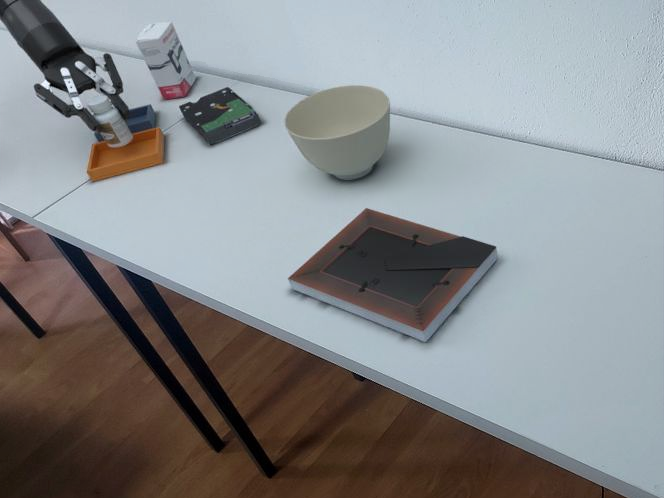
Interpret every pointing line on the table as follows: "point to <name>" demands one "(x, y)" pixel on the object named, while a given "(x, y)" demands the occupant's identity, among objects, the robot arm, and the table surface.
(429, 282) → the picture frame
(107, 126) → the pill bottle
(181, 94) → the ink box
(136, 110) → the slate tray
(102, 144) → the orange tray
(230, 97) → the disk drive
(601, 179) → the table surface
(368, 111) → the bowl
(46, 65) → the robot arm
